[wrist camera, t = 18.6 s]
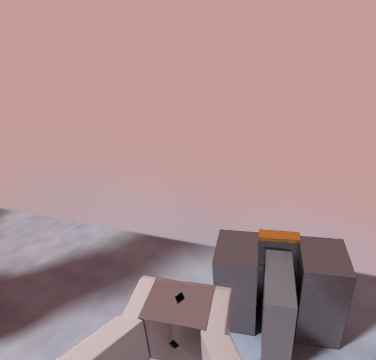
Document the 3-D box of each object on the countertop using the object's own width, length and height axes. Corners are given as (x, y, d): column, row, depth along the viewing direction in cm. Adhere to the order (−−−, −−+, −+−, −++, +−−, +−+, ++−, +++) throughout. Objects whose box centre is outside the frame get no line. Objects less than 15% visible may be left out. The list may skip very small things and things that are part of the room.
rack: (215, 329, 37) (212, 258, 32) (222, 292, 42) (219, 226, 37) (339, 349, 34) (357, 274, 29) (329, 306, 39) (343, 235, 34)
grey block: (260, 367, 33) (264, 304, 28) (262, 308, 40) (265, 249, 35) (289, 373, 32) (297, 308, 28) (285, 311, 39) (291, 251, 34)
